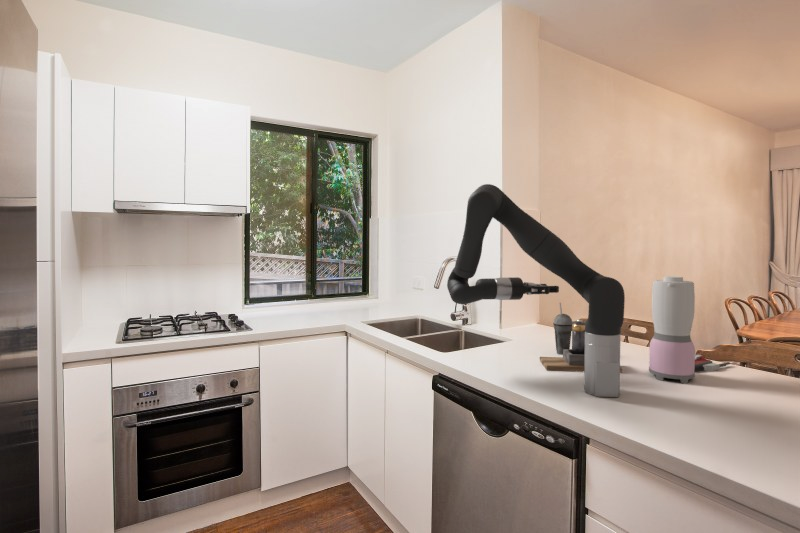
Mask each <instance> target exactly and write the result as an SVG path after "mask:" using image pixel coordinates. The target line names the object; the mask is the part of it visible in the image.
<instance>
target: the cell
mask: <svg viewBox="0 0 800 533" xmlns="http://www.w3.org/2000/svg"><path fill="white" fill-rule="evenodd" d="M585 322H586V321H583V319H576V320H574V321H573V320H572V331H571V349H572V354H581V355H585Z"/></svg>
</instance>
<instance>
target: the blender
mask: <svg viewBox="0 0 800 533" xmlns="http://www.w3.org/2000/svg"><path fill="white" fill-rule="evenodd" d="M651 290H652V291H651V292H652V293H651V316H652V317H651V318H652V323H653V329H654V333H653V337H652V338H651V340H650V343H649V348H648V349H649V350H648V351H649V353H648V354H649V355H648V357H649V358H648V359H649V361H648V364H649V366H648V372H649V374H652V375H655V379H656V380H658V381H664V380H665V378H666V379H672V380H679V382H680V383H681V384H688V383H689V380H691V379H692V380H693V379H694V378H695V376H696V375H695V374H696V372H694V368H695V355H696V349H695V345H694V344H695V343H694V342H693V341H692V338H691V331H692V328H693V322H694V316H695V307H696V306H695V302H696V301H695V300H696V299H695V298H696V296H695V282H694V281H691V280H684V276H671V275H670V276H666V275H665V276H663V279H655V280H653V282H652V289H651Z"/></svg>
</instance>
